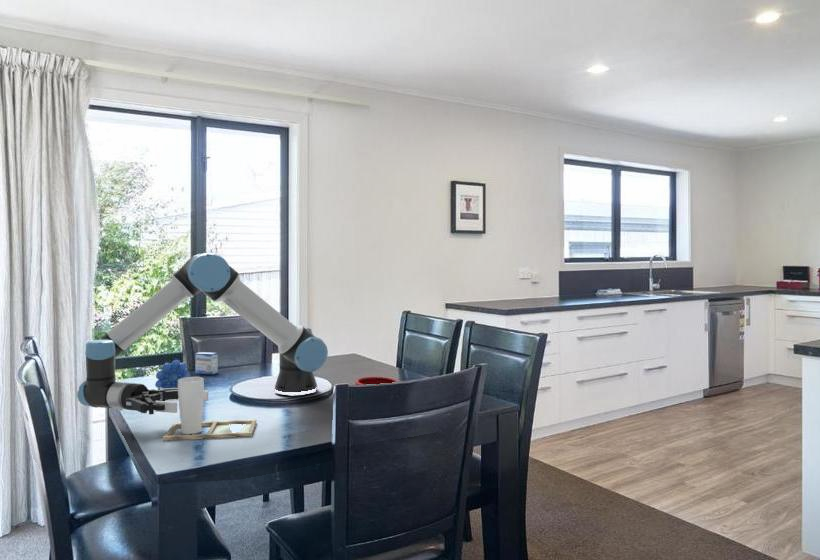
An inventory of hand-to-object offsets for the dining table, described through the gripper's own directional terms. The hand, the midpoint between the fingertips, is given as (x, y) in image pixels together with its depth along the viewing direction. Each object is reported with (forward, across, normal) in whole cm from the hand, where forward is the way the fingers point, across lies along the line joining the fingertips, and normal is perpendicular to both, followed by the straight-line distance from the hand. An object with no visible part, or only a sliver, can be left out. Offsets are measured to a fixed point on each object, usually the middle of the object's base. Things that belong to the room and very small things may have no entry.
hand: (192, 401), depth 158 cm
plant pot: (+45, -26, -9) cm, 53 cm away
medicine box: (-46, -72, -9) cm, 86 cm away
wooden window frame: (+4, -3, -9) cm, 10 cm away
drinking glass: (-1, 0, -9) cm, 9 cm away
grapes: (-37, -38, -9) cm, 54 cm away
